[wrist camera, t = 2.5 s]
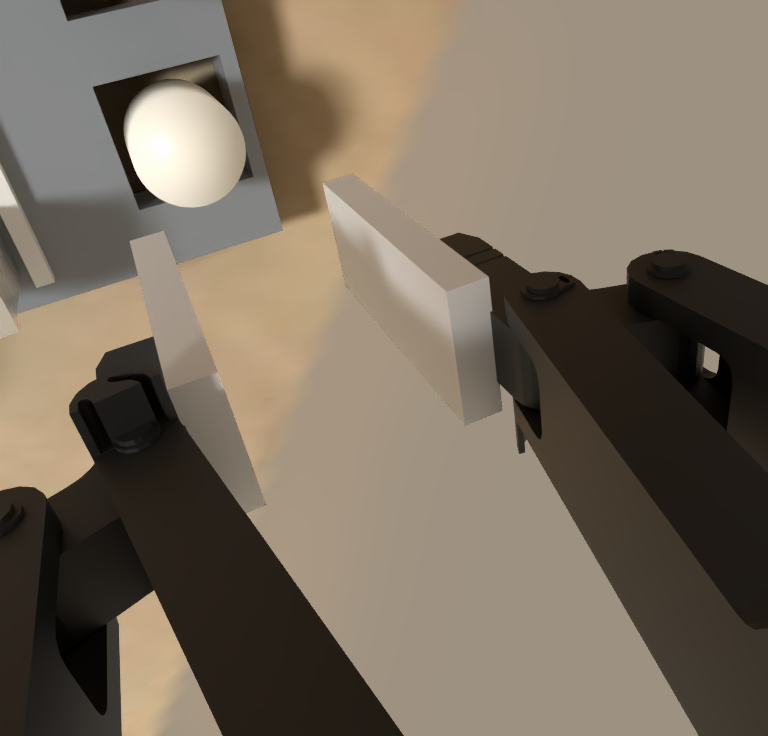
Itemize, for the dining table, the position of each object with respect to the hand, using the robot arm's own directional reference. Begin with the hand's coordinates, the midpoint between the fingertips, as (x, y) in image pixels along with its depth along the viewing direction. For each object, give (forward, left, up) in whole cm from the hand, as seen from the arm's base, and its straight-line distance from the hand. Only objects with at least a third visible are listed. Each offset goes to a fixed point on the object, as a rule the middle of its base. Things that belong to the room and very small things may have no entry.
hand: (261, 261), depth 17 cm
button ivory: (0, 0, -14) cm, 14 cm away
